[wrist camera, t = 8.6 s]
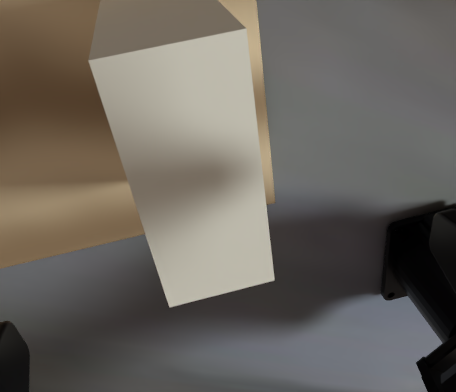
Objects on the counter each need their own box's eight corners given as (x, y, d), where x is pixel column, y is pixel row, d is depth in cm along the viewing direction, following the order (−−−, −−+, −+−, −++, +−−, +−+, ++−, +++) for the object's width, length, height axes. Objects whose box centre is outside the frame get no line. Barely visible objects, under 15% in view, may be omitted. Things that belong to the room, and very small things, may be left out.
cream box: (225, 162, 21) (274, 280, 14) (152, 179, 20) (168, 307, 14) (195, -22, 16) (246, 28, 10) (99, -4, 16) (85, 61, 9)
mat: (271, 196, 23) (275, 202, 23) (-37, 269, 22) (-40, 278, 21) (240, -129, 15) (244, -130, 15) (-253, -47, 14) (-266, -45, 13)
